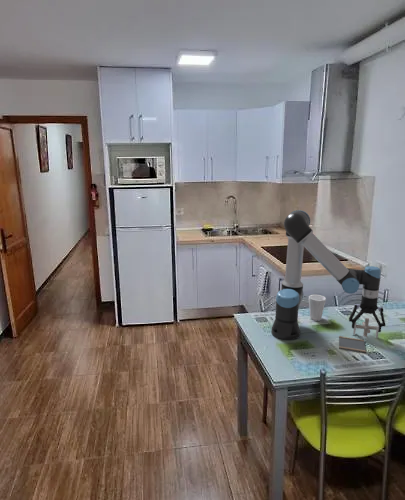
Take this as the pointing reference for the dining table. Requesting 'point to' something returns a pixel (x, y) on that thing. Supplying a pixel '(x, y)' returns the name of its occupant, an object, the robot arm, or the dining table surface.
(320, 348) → the dining table surface
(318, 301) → the foam cup
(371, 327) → the pipe connector
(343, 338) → the mat
